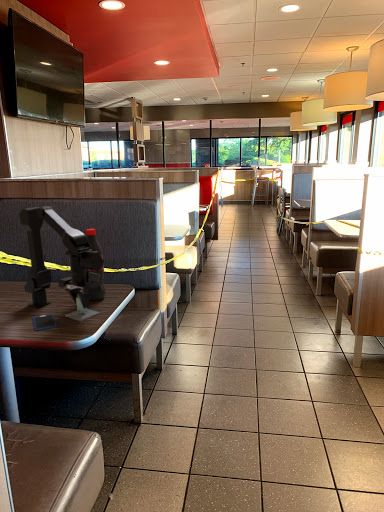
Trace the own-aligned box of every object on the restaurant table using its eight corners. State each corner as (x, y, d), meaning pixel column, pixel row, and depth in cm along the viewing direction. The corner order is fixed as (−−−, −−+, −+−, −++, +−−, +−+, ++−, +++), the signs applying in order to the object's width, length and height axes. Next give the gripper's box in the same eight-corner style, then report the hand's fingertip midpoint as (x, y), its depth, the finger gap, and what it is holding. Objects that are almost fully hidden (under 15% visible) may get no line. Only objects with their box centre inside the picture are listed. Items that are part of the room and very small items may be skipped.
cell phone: (52, 315, 152) (52, 313, 152) (57, 328, 140) (57, 326, 139) (32, 318, 149) (32, 316, 149) (35, 332, 137) (35, 330, 136)
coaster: (65, 316, 149) (65, 314, 149) (84, 309, 156) (84, 307, 156) (80, 321, 144) (80, 319, 144) (99, 313, 151) (99, 312, 151)
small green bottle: (75, 311, 150) (73, 293, 148) (82, 308, 152) (81, 290, 151) (81, 313, 148) (79, 294, 146) (89, 310, 150) (87, 292, 149)
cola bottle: (81, 300, 166) (75, 230, 160) (92, 294, 174) (87, 227, 168) (99, 302, 164) (94, 230, 157) (109, 295, 172) (104, 227, 165)
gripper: (112, 266, 147) (114, 305, 151) (79, 259, 158) (83, 296, 161) (88, 272, 138) (91, 314, 142) (55, 265, 149) (59, 304, 153)
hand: (81, 307), depth 150 cm, fingers closed on small green bottle, 4 cm apart
